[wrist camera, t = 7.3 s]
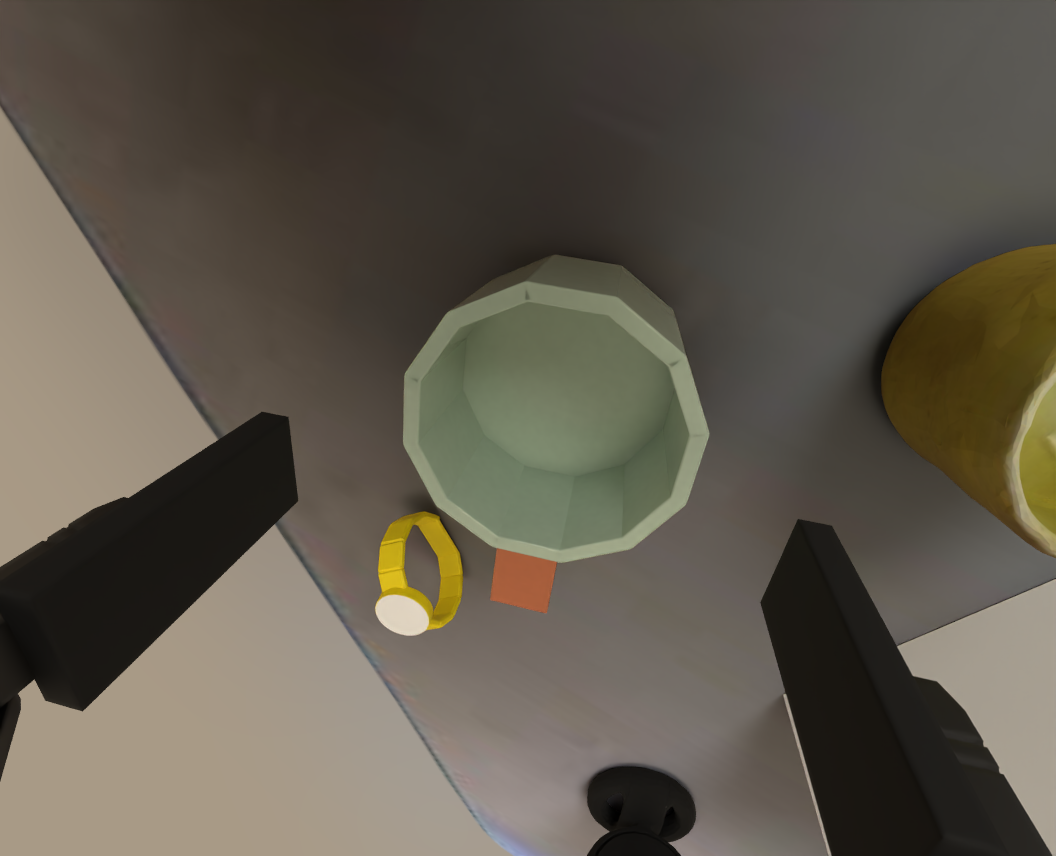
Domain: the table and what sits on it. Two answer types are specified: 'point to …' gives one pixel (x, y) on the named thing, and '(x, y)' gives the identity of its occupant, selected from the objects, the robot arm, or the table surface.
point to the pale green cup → (555, 418)
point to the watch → (398, 601)
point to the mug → (985, 387)
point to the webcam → (639, 812)
